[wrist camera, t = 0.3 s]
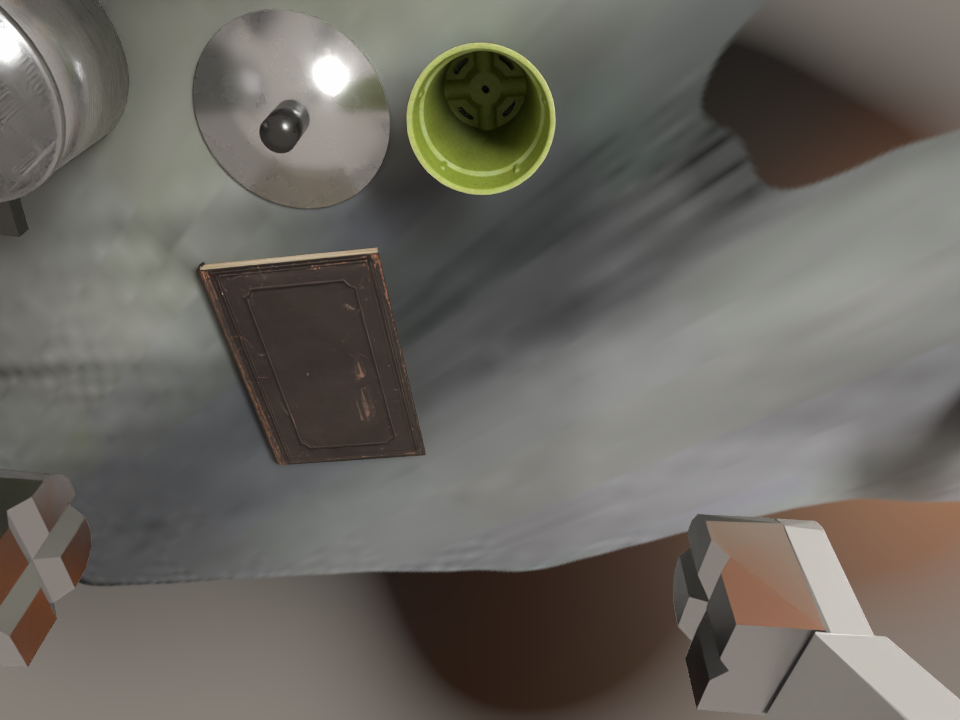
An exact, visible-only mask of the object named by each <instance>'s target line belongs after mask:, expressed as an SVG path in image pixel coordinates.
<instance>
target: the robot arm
mask: <svg viewBox="0 0 960 720" xmlns="http://www.w3.org/2000/svg"><path fill="white" fill-rule="evenodd" d="M74 496H75V492H74V490H73V488H72V486H71V483H70V481H69V479H68V477H67V476H63V475H58V474H50V473H39V472H28V471H17V470H6V469H0V666H11V667H28V666H29V665H30V663H31V661H32V660H33V658H34V656H35V654H36V653H37V651H38V649H39V648H40V646H41V644H42V643H43V641H44V639H45V638H46V636H47V634H48V633H49V631H50V629H51V628H52V626H53V624H54V623H55V621H56V619H57V617H56V611H55V606H54V602H56V601H57V600H58V599H60V598H61V597H63V596H64V595H65V594H67V593H69V592H70V591H71V590H73V589H74V588H75V587H76V585H77V584H78V582H79V580H80V578H81V577H82V575H83V573H84V571H85V569H86V567H87V563H88V559H89V555H90V551H91V547H92V545H91V530H90V528H89V525H88V523H87V520H86V518H85V517H84V516H83V515H82V514H80V513H79V512H78V511H76V510H75V509H74V508H72V507H71V506H70V505H69V504H70V502H71V500H72V499H73V497H74ZM687 534H688V538H689V542H690V546H691V548H690V549H688V550H687V551H685V552H684V553H682V554H681V555H679V558H678V562H677V565H676V568H675V572H674V585H673V598H674V607H675V613H676V618H677V624H678V627H679V628H680V629H681V630H682V631H683V632H684V633H685V634H686V636H687V637H688V638H689V639H690V640H691V641H692V643H691V645H690V648H689V650H688V653H687V655H686V658H685V661H686V665H687V669H688V673H689V678H690V683H691V687H692V691H693V696H694V700H695V704H696V709H700V710H711V711H723V712H734V713H744V714H756V715H766V716H765V718H764V720H960V699H959V698H957V697H956V696H955V695H954V694H952V692H950V691H949V690H948V689H947V688H946V687H945V686H943V685H942V684H941V683H940V682H939V681H938V680H936V679H935V678H934V677H933V676H932V675H930V674H929V673H928V672H927V671H926V670H925V669H923V668H922V667H921V666H920V665H919V664H918V663H916V662H915V661H914V660H913V659H912V658H911V657H910V656H908V655H907V654H906V653H905V652H904V651H903V650H901V649H900V648H899V647H898V646H897V645H896V644H894V643H893V642H892V641H891V640H890V639H889V638H887V637H885V636H875V635H874V634H873V632H872V630H871V628H870V626H869V624H868V622H867V620H866V617H865V615H864V613H863V611H862V609H861V607H860V605H859V603H858V601H857V599H856V596H855V595H854V593H853V590H852V588H851V586H850V584H849V582H848V580H847V578H846V576H845V573H844V571H843V569H842V567H841V565H840V563H839V561H838V559H837V557H836V554H835V552H834V550H833V548H832V546H831V544H830V542H829V540H828V538H827V536H826V533H825V531H824V529H823V528H822V527H821V526H820V525H819V524H818V523H817V522H816V521H804V520H789V519H788V520H787V519H772V518H761V517H742V516H723V515H704V514H698V515H697V516H696V517H695V518H694V519H693V520H692V522H691V524H690V527H689V530H688V533H687Z"/></svg>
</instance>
